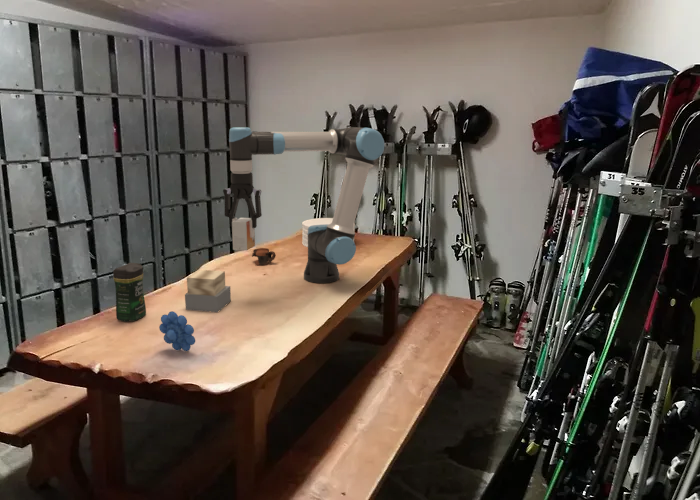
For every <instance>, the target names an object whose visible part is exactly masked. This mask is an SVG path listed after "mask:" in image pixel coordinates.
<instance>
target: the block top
mask: <svg viewBox="0 0 700 500" xmlns="http://www.w3.org/2000/svg"><path fill="white" fill-rule="evenodd" d="M225 274H226V271H223V270H210V269H209V270H207V269H198V270H196V271H194V272H193V273H191V274H190V275H189V276H186V286H187V290H186V291H187V292H188V294H195V295H210V296H215V295H216V294H218V293H219V292H220V291H221V290H222V289H224V288H225V286H226V275H225Z"/></svg>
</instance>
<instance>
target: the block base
mask: <svg viewBox="0 0 700 500" xmlns="http://www.w3.org/2000/svg"><path fill="white" fill-rule="evenodd" d="M231 296H232V295H231V286H230V285H225V288H224V289H222V290H221V291H220V292H219V293H218V294H216V295H215V296H210V295H195V294H188V291H187V292H186V293H185V294H184V303H185V304H184V305H185V310H186V311H198V312H199V311H200V312H209V311H211V312H210V313H219V312H220V311H221V310H222V309H224V308H225V307H226V306H227V305H228V304H229V303H230V302H231V301H232V298H231ZM226 304H227V305H226ZM225 305H226V306H225ZM219 310H220V311H219ZM218 311H219V312H218Z"/></svg>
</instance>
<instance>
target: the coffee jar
mask: <svg viewBox="0 0 700 500" xmlns="http://www.w3.org/2000/svg"><path fill="white" fill-rule="evenodd" d="M112 273H113V274H112V279H113V282H114V286H115V287H114V288H115V316H116V320H118V321H120V322H124V323H127V322H135V321H137V320H139V319H141V318H143V317H144V316H145V315H146V314H147V308H146V301H145V294H144V285H143V283H144V282H143V281H144V267H143V265H142V264H141V263H139V262H138V263H137V262H128V263H127V264H124V265H121V266H119V267H116V268H115V269H113V271H112Z"/></svg>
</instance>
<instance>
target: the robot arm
mask: <svg viewBox="0 0 700 500" xmlns="http://www.w3.org/2000/svg"><path fill="white" fill-rule="evenodd" d="M228 137H229V138H228V142H229V143H228V144H229V155H230V157H229V159H230V160H229V162H230V164H229V165H230V171H231V173H230V184H231V185H230V187H229V188H224V189H223V190H222V192H223V195H224V217H227V218H229V224H230V225H229V226H230V228H232V221H235V220H237V219H238V217H236V213H237V211H238V207H239V206H238V205H239V202H240V199H243V200H244V201H245V202H246V206H247V208H248V209H247V210H248V211H249V215H250V218H251V219H250V220H249V221H250V238H252V237H254V231H255V230H254V229H255V228H257V227H258V226H257V224H258V223H257V219H259V218H261V217H262V215H263V214H262V203H261V195H262V190H261V189H257V188H255V187H254V184H253V183H254V182H253V181H254V180H253V176H254V175H253V172H252V171H253V155H255V156H256V155H260V156H261V155H262V156H263V155H265V156H267V155H274V156H276V155H282V154H283V153H284V152H329V153H330V154H339V155H345V158H344V159H345V161H346V163H347V166H346V169H345V173H344V177H343V180H342V185H341V187H340V191H339V194H338V195H339V196H338V199H337V202H336V205H335V206H336V207H335V210H334V214H333V217H332V218H333V220H332V223H331V224H326V225H313V226H310V227H309V228H308V234H307V235H308V247H307V262H306V265H305V268H304V271H303V279H304V280H305V281H307V282H310V283H313V284H314V283H316V284H330V283H334V282H337V281H339V280H340V271H339V268H338V265H345V264H347V263H349V262H350V261H351V260H353V258H354V257H355V255H356V251H357V246H356V244H355V236H356V232H355V230H353V225H354V223H355V222H356V217H357V215H358V210H359V207H360V203H361V200H362V195H363V193H364V188H365V186H366V182H367V177H368V175H369V172H370V171H369V170H370V169H373V168H374V167H375V163H376V160H377V159H378V158H380V157H381V156H382V155H383V153H384V151H385V140H384V138H383V135H382V133H380V132H379V131H378V130H376V129H375V128H372V127H371V128H370V127H359V126H358V127H356V126H355V127H354V126H352V127H346V128H334V129H333V128H332V129H331V128H330V129H329V130H328V131H257V130H253V131H252V129H251V128H250V127H247V126H244V127H241V126H240V127H239V126H237V127H236V126H235V127H231V128H230V129H229V134H228ZM252 193H253V195H254V203H253V200H252V199H253V198H252V196H251V195H252ZM231 194H232V195H233V199H232V200H233V201H232V204H231ZM254 204H255V205H254ZM254 206H255V207H254ZM353 240H354V241H353Z"/></svg>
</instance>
